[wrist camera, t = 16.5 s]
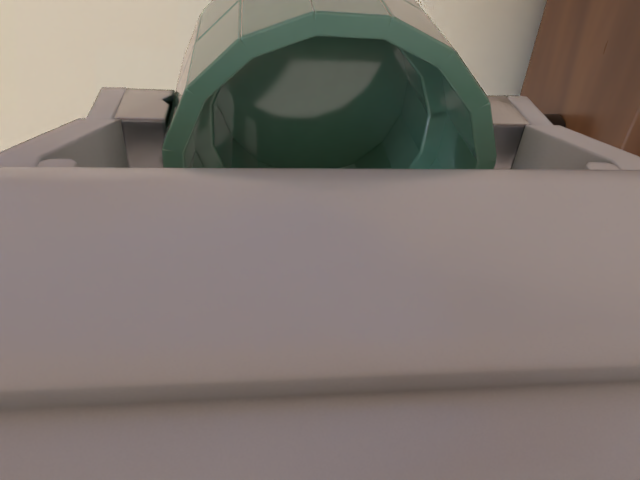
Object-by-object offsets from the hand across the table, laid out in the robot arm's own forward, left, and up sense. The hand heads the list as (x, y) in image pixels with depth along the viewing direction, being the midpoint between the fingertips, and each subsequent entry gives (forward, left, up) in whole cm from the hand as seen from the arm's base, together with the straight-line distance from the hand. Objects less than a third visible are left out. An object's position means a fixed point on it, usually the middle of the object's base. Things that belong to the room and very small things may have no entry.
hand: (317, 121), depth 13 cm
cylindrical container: (0, 0, -2) cm, 2 cm away
